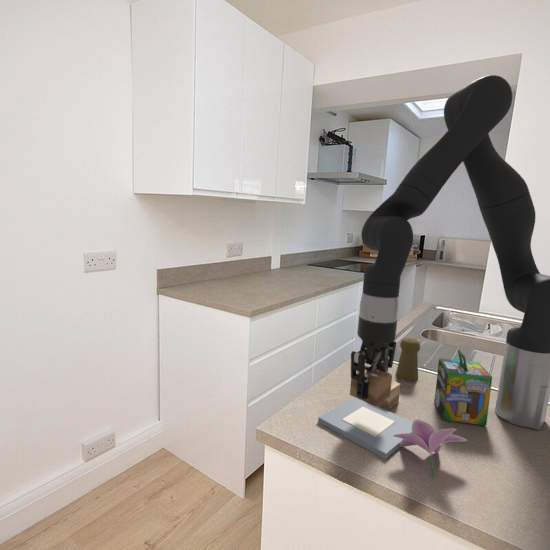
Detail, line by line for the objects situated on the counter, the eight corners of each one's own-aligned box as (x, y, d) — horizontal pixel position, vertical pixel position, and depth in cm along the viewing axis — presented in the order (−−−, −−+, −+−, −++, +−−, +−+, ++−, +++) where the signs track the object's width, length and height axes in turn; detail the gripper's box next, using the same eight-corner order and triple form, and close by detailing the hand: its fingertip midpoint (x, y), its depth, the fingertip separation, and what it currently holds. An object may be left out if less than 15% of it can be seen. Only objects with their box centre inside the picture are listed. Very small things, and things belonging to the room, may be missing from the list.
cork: (395, 379, 101) (399, 341, 100) (395, 370, 107) (399, 334, 105) (419, 383, 100) (423, 344, 98) (417, 374, 105) (421, 337, 104)
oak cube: (398, 403, 89) (400, 383, 88) (388, 410, 85) (390, 390, 84) (379, 395, 92) (381, 376, 91) (369, 401, 89) (371, 382, 88)
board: (419, 430, 78) (419, 424, 77) (385, 459, 68) (386, 452, 68) (354, 400, 89) (355, 395, 89) (318, 422, 79) (318, 416, 79)
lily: (474, 475, 66) (465, 418, 70) (464, 486, 57) (454, 420, 60) (407, 469, 73) (401, 417, 76) (388, 478, 63) (382, 418, 67)
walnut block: (389, 396, 77) (392, 374, 76) (375, 406, 73) (377, 382, 72) (365, 386, 82) (367, 365, 81) (349, 394, 77) (351, 372, 76)
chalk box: (486, 427, 80) (496, 363, 77) (441, 421, 82) (450, 358, 79) (473, 405, 89) (481, 347, 86) (432, 400, 91) (440, 343, 88)
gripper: (375, 327, 67) (367, 412, 70) (412, 314, 77) (403, 389, 80) (341, 317, 72) (335, 396, 75) (379, 306, 82) (372, 377, 85)
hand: (370, 392), depth 77 cm, fingers closed on walnut block, 6 cm apart
